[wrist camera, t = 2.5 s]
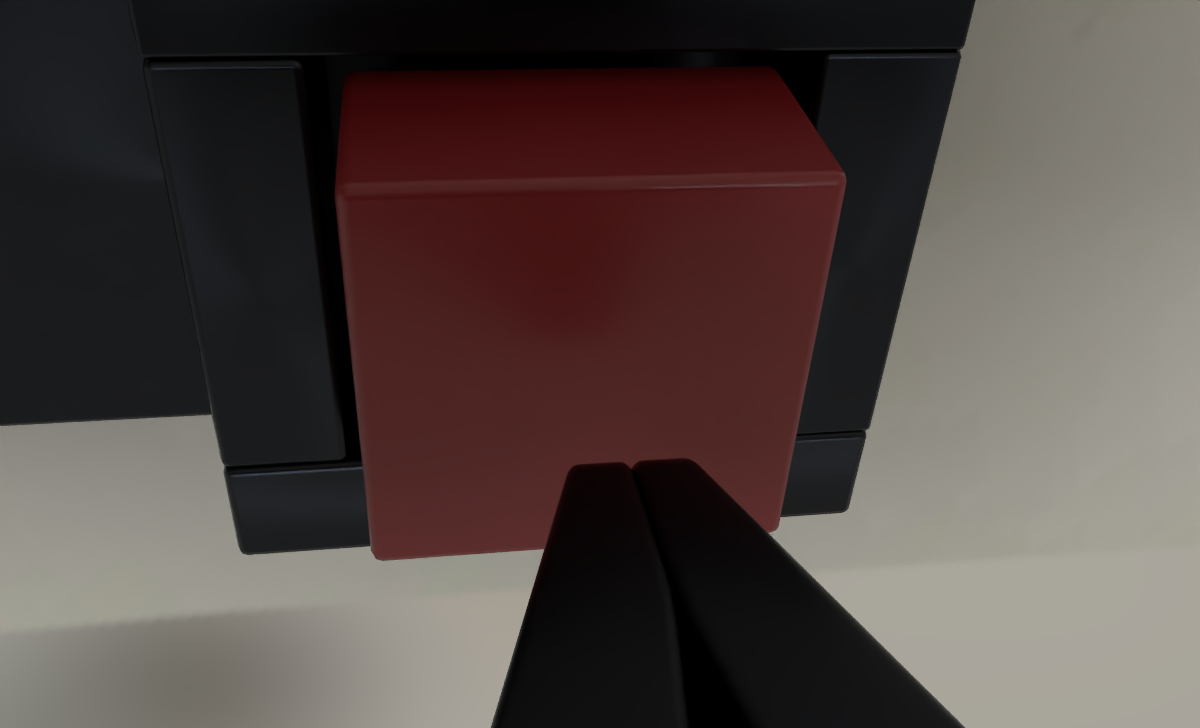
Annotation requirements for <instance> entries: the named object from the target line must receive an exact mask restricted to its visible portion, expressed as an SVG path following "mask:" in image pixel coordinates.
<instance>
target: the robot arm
mask: <svg viewBox="0 0 1200 728" xmlns="http://www.w3.org/2000/svg"><path fill="white" fill-rule="evenodd" d="M491 728H965V727H964V726H963V725H962V724H961V723H960V722H959V721H958V720H957V719H956V718H955V717H954V716H953V715H952V714H951V713H950V712H949V711H948V710H947V709H946V708H945V707H944V706H943V705H942V704H941V703H940V702H939V701H938V700H937V699H936V698H935V697H934V696H932V694H930V693H929V692H928V691H927V690H926V689H925V688H924V687H923V686H922V685H921V684H920V683H919V682H918V681H917V680H916V679H915V678H914V677H913V676H912V675H911V674H910V673H909V672H908V671H907V670H906V669H905V668H904V667H903V666H902V665H901V664H900V663H899V662H898V661H897V660H896V659H895V658H894V657H893V656H892V655H891V654H890V653H889V652H888V651H887V650H886V649H885V648H884V647H883V646H882V645H881V644H880V643H879V642H878V641H877V640H876V639H875V638H874V637H873V636H872V635H871V634H870V633H869V632H868V631H867V630H866V629H865V628H863V626H862V625H861V624H860V623H859V622H858V621H857V620H856V619H855V618H853V616H851V615H850V614H849V613H848V612H847V611H846V610H845V609H844V608H843V607H842V606H841V605H840V604H839V603H838V602H837V601H836V600H835V599H834V598H833V597H832V596H831V595H830V594H829V593H828V592H827V591H826V590H825V589H824V588H823V587H822V586H821V585H820V584H819V583H818V582H817V581H816V580H815V579H814V578H813V577H812V576H811V575H810V574H809V573H808V572H807V571H806V570H805V569H804V568H803V567H802V566H801V565H800V564H799V563H798V562H797V561H796V560H795V559H794V558H793V557H792V556H791V555H790V554H789V553H788V552H787V551H786V550H785V549H784V548H783V547H782V546H781V545H780V544H779V543H778V542H777V541H776V540H775V539H773V538H772V537H771V536H770V535H769V534H768V533H767V532H766V531H765V530H764V529H763V528H762V527H761V526H760V525H759V524H758V523H757V522H756V521H755V520H754V519H753V518H752V517H751V516H750V515H749V514H748V513H747V512H746V511H745V510H744V509H743V508H742V507H741V506H740V505H739V504H738V503H737V502H736V501H735V500H734V499H733V498H732V497H731V496H730V495H729V494H728V493H727V492H726V491H725V490H724V489H723V488H722V487H721V486H720V485H719V484H718V483H717V482H716V481H715V480H714V479H713V478H712V477H711V476H710V475H709V474H708V473H707V472H706V471H705V470H704V469H703V468H702V467H701V466H700V465H698V464H697V463H696V462H694V461H692V460H690V459H687V458H673V459H656V460H642V461H638V462H637V463H636V464H634V465H633V467H632V468H630V467H629V466H628V465H627V464H625V463H624V462H608V463H592V464H578V465H575V466H573V467H571V469H570V470H569V471H568V473H567V476H566V479H565V483H564V486H563V489H562V493H561V496H560V499H559V503H558V506H557V509H556V513H555V516H554V519H553V523H552V526H551V529H550V533H549V536H548V539H547V543H546V546H545V549H544V553H543V556H542V559H541V563H540V566H539V569H538V573H537V576H536V579H535V583H534V586H533V589H532V593H531V596H530V599H529V603H528V606H527V609H526V613H525V616H524V619H523V623H522V626H521V629H520V633H519V636H518V639H517V642H516V646H515V649H514V653H513V656H512V659H511V662H510V666H509V669H508V672H507V676H506V679H505V682H504V686H503V689H502V692H501V696H500V699H499V702H498V706H497V709H496V712H495V716H494V719H493V722H492V726H491Z"/></svg>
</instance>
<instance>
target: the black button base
mask: <svg viewBox="0 0 1200 728" xmlns="http://www.w3.org/2000/svg"><path fill="white" fill-rule="evenodd" d="M974 4H975V0H0V426H9V425H27V424H46V423H65V422H83V421H102V420H121V419H139V418H158V417H177V416H195V415H212V417H213V422H214V427H215V432H216V437H217V442H218V447H219V452H220V457H221V460H222V462H223V464H224V465H225V468H224V477H225V482H226V487H227V492H228V497H229V502H230V507H231V511H232V516H233V521H234V526H235V531H236V536H237V541H238V546H239V548H240V551H241V552H242V553H243V554H247V555H253V554H267V553H281V552H295V551H309V550H324V549H338V548H352V547H366V546H370V536H369V526H368V516H367V507H366V497H365V487H364V477H363V468H362V458H361V448H360V439H359V429H358V419H357V409H356V400H355V390H354V380H353V370H352V361H351V351H350V341H349V332H348V322H347V312H346V302H345V293H344V283H343V273H342V264H341V254H340V244H339V234H338V225H337V215H336V205H335V195H334V194H335V181H336V169H337V156H338V143H339V130H340V117H341V104H342V92H343V82H344V79H345V76H346V74H348V73H350V72H353V71H406V70H489V69H571V68H654V67H736V66H769V67H771V68H774V69H776V71H777V72H778V74H779V75H780V77H781V78H782V80H783V81H784V83H785V84H786V86H787V87H788V89H789V90H790V92H791V93H792V95H793V96H794V98H795V99H796V101H797V102H798V104H799V105H800V107H801V108H802V110H803V111H804V113H805V114H806V116H807V117H808V119H809V120H810V122H811V123H812V125H813V126H814V128H815V129H816V131H817V132H818V134H819V135H820V137H821V138H822V140H823V141H824V143H825V144H826V146H827V147H828V149H829V150H830V152H831V153H832V155H833V156H834V158H835V159H836V161H837V162H838V164H839V165H840V167H841V168H842V170H843V171H844V173H845V177H846V187H845V192H844V197H843V202H842V207H841V212H840V217H839V222H838V227H837V232H836V238H835V243H834V248H833V253H832V258H831V263H830V268H829V273H828V278H827V283H826V288H825V293H824V298H823V303H822V308H821V313H820V318H819V324H818V329H817V334H816V339H815V344H814V349H813V354H812V359H811V364H810V369H809V374H808V379H807V384H806V389H805V394H804V399H803V404H802V409H801V415H800V420H799V425H798V430H797V435H796V440H795V445H794V450H793V455H792V460H791V465H790V470H789V475H788V480H787V485H786V490H785V495H784V501H783V506H782V511H781V516H780V517H789V516H803V515H817V514H831V513H842V512H845V511H846V510H847V509H848V508H849V504H850V500H851V496H852V491H853V487H854V483H855V479H856V475H857V471H858V467H859V463H860V459H861V455H862V451H863V447H864V443H865V439H866V431H865V430H867V429H869V427H870V424H871V420H872V416H873V412H874V408H875V404H876V400H877V396H878V391H879V387H880V383H881V379H882V375H883V371H884V367H885V363H886V359H887V355H888V351H889V347H890V343H891V339H892V335H893V331H894V327H895V323H896V318H897V314H898V310H899V306H900V302H901V298H902V294H903V290H904V286H905V282H906V278H907V274H908V270H909V266H910V262H911V258H912V254H913V250H914V246H915V241H916V237H917V233H918V229H919V225H920V221H921V217H922V213H923V209H924V205H925V201H926V197H927V193H928V189H929V185H930V181H931V177H932V173H933V168H934V164H935V160H936V156H937V152H938V148H939V144H940V140H941V136H942V132H943V128H944V124H945V120H946V116H947V112H948V108H949V104H950V100H951V96H952V91H953V87H954V83H955V79H956V75H957V71H958V67H959V63H960V59H961V54H960V51H959V50H958V49H962V48H963V47H964V45H965V41H966V36H967V32H968V28H969V24H970V20H971V16H972V12H973V8H974Z"/></svg>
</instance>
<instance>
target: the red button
mask: <svg viewBox="0 0 1200 728" xmlns="http://www.w3.org/2000/svg"><path fill="white" fill-rule="evenodd" d="M845 187H846V177H845V173H844V171H843V170H842V168H841V167H840V165H839V164H838V162H837V161H836V159H835V158H834V156H833V155H832V153H831V152H830V150H829V149H828V147H827V146H826V144H825V143H824V141H823V140H822V138H821V137H820V135H819V134H818V132H817V131H816V129H815V128H814V126H813V125H812V123H811V122H810V120H809V119H808V117H807V116H806V114H805V113H804V111H803V110H802V108H801V107H800V105H799V104H798V102H797V101H796V99H795V98H794V96H793V95H792V93H791V92H790V90H789V89H788V87H787V86H786V84H785V83H784V81H783V80H782V78H781V77H780V75H779V74H778V72H777V71H776V69H774V68H771V67H769V66H736V67H654V68H571V69H489V70H406V71H353V72H350V73H348V74H346V76H345V79H344V82H343V92H342V104H341V117H340V130H339V143H338V156H337V169H336V181H335V194H334V195H335V205H336V215H337V225H338V234H339V244H340V254H341V264H342V273H343V283H344V293H345V302H346V312H347V322H348V332H349V341H350V351H351V361H352V370H353V380H354V390H355V400H356V409H357V419H358V429H359V439H360V448H361V458H362V468H363V477H364V487H365V497H366V507H367V516H368V526H369V536H370V546H371V551H372V553H373V554H374V556H375V558H376V559H378V560H382V561H386V560H399V559H413V558H427V557H441V556H454V555H468V554H482V553H495V552H509V551H523V550H537V549H545V546H546V543H547V539H548V536H549V533H550V529H551V526H552V523H553V519H554V516H555V513H556V509H557V506H558V503H559V499H560V496H561V493H562V489H563V486H564V483H565V479H566V476H567V473H568V471H569V470H570V469H571V467H573V466H575V465H578V464H592V463H608V462H624V463H625V464H627V465H628V466H629V467H630V468H632V467H633V465H634V464H636V463H637V462H638V461H642V460H656V459H673V458H687V459H690V460H692V461H694V462H696V463H697V464H698V465H700V466H701V467H702V468H703V469H704V470H705V471H706V472H707V473H708V474H709V475H710V476H711V477H712V478H713V479H714V480H715V481H716V482H717V483H718V484H719V485H720V486H721V487H722V488H723V489H724V490H725V491H726V492H727V493H728V494H729V495H730V496H731V497H732V498H733V499H734V500H735V501H736V502H737V503H738V504H739V505H740V506H741V507H742V508H743V509H744V510H745V511H746V512H747V513H748V514H749V515H750V516H751V517H752V518H753V519H754V520H755V521H756V522H757V523H758V524H759V525H760V526H761V527H762V528H763V529H764V530H765V531H766V532H767V533H770V532H772V531H775V530H776V529H777V528H778V526H779V521H780V516H781V511H782V506H783V501H784V495H785V490H786V485H787V480H788V475H789V470H790V465H791V460H792V455H793V450H794V445H795V440H796V435H797V430H798V425H799V420H800V415H801V409H802V404H803V399H804V394H805V389H806V384H807V379H808V374H809V369H810V364H811V359H812V354H813V349H814V344H815V339H816V334H817V329H818V324H819V318H820V313H821V308H822V303H823V298H824V293H825V288H826V283H827V278H828V273H829V268H830V263H831V258H832V253H833V248H834V243H835V238H836V232H837V227H838V222H839V217H840V212H841V207H842V202H843V197H844V192H845Z"/></svg>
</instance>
